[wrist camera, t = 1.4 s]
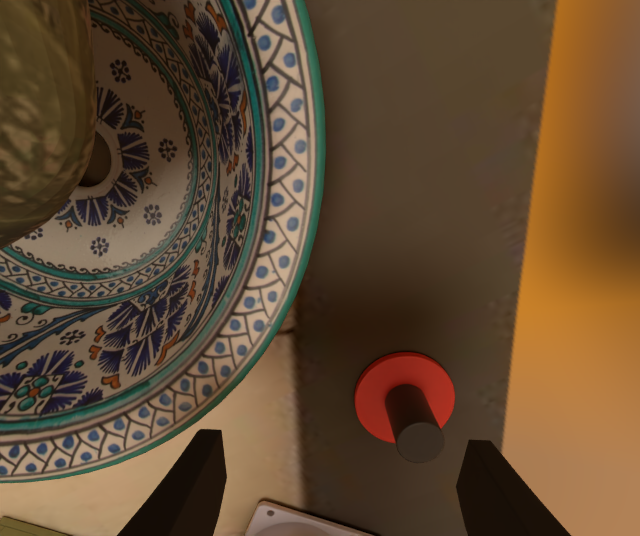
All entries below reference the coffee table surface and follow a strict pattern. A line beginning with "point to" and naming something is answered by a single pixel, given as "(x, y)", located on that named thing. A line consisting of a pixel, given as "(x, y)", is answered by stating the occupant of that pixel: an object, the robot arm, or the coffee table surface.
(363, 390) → the lid
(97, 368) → the bowl
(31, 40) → the decorative rock
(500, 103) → the coffee table surface
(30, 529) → the open box
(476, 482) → the robot arm
